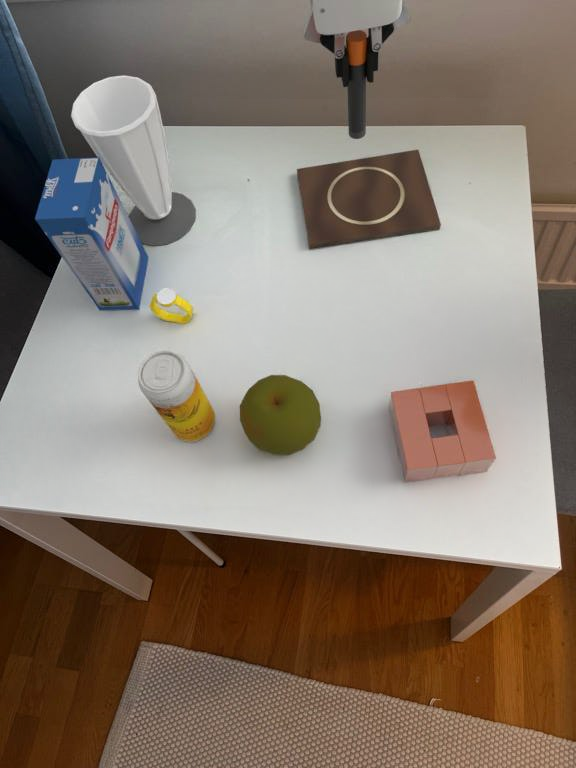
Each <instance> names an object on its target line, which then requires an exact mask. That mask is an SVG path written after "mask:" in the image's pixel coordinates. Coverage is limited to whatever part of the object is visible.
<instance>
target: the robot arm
mask: <svg viewBox="0 0 576 768" xmlns="http://www.w3.org/2000/svg"><path fill="white" fill-rule="evenodd" d="M309 1H310V8H309V10H308V14H307V16H306V19H305V22H304V25H303V28H302V34H303V38H304V40H305V41H308V42H312V43H315V44H321V46H322V47H324V48H325V49H327V50H328V51H329V52H331V53H332V54H333V55H334V67H335V68H334V69H335V77H336V79H341V83H342V87H343V88H348V85H349V59H348V54H347V52H346V33H349V32H351V31H357V30H362V31H363V30H367V53H366V83H369V84H371V83H374V80H375V79H374V77H375V76H374V75H375V73H374V72H378V71H379V53H380V51H381V50H382V48H383V44H384V43H385V42H386V41H387V40H388V39H389V38H390V37H391V36H392V34H394V32H395V30H398V29H400V28H401V27H403V26H404V25H405V24H407V23H409V22H410V20H411V19H412V17H411V14H410V11H409V8H408V6H407V3H406V1H405V0H309Z"/></svg>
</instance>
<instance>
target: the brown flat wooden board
mask: <svg viewBox="0 0 576 768" xmlns="http://www.w3.org/2000/svg"><path fill="white" fill-rule="evenodd" d="M420 153H421V152H420V151H419V149H412V150H406V151H401V152H395V153H388V154H387V153H386V154H382V155H374V156H369V157H363V158H356V159H351V160H345V161H344V160H343V161H338V162H332V163H325V164H320V165H312V166H307V167H306V166H305V167H300V168H297V169H296V174H297V180H298V187H299V194H300V199H301V206H302V211H303V217H304V224H305V231H306V236H307V242H308V248H309V249H308V250H315V249H323V248H328V247H334V246H335V247H336V246H341V245H348V244H354V243H360V242H361V243H362V242H368V241H373V240H379V239H380V240H381V239H387V238H393V237H394V238H395V237H401V236H404V235H407V236H408V235H413V234H419V233H426V232H433V231H438V230H441V225H442V224H441V220H440V217H439V214H438V211H437V207H436V203H435V200H434V197H433V194H432V190H431V187H430V184H429V180H428V178H427V177H428V176H427V174H426V171H425V166H424V163H423V160H422V157H421V154H420Z"/></svg>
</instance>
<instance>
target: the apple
mask: <svg viewBox="0 0 576 768" xmlns="http://www.w3.org/2000/svg"><path fill="white" fill-rule="evenodd" d="M238 407H239V422H240V424H241V427H242V429H243V433H244V435H245V437H246V438H247V441H249V442H250V443H251V444H252V445H253V447H255V448H256V449H257V450H258V451H260V452H263V453H266V454H269V455H272V456H291V455H292V454H295V453H298V452H300V451H303V450H304V449H305V448H306V447H308V446H309V445H310V444H311V443H313V441H315V439H316V437H317V435H318V432H319V430H320V428H321V424H322V415H321V405H320V402H319V400H318V398H317V395H316V393H315V392H314V390H313V389H312V388H311V387H309V385H308V384H306V383H305V382H304V381H302V380H300V379H297V378H294V377H291V376H288V375H285V374H270V375H268V376H266V377H263V378H261V379H259V380H257V381H256V382H255V383H254V384H253V385H251V386H250V387H249V388H248V389H247V391H246V392H245V394H244V396H243V398H242V400H241V402H240V404H239V406H238Z"/></svg>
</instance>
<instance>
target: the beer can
mask: <svg viewBox="0 0 576 768" xmlns="http://www.w3.org/2000/svg"><path fill="white" fill-rule="evenodd" d="M137 384H138V387H139V390H140V391H141V393H142V394H143V396H144V397H145V398H146V399H147V401H148V402H149V403H150V404H151V406H152V407H153V408H154V410H155V411H156V412H157V414H158V415H159V417H160V418H161V419H162V420H163V422H164V423H165V424H166V426H167V427H168V428H169V429H170V431H171V432H172V434H173V435H174V436H175V437H176V438H177V439H179V440H181V441H183V442H190V443H191V442H198V441H200V440H202V439H204V438H205V437H207V436H208V435H209V434H210V433H211V431H213V428H214V427H215V424H216V423H215V422H216V414H215V411H214V408H213V407H212V405H211V402H210V401H209V399H208V397H207V394H206V393H205V391H204V390H203V388H202V386H201V384H200V382H199V380H198V379H197V377H196V374H195V373H194V371H193V369H192V368H191V365H190V364H189V362H188V360H187V359H186V358H185V357H184V356H182V355H181V354H179V353H177V352H174V351H171V350H159V351H156V352H153V353H151V354H150V355H148V356H147V357H146V358H144V360H143V361H142V362H141V364H140V366H139V369H138V373H137Z"/></svg>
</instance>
